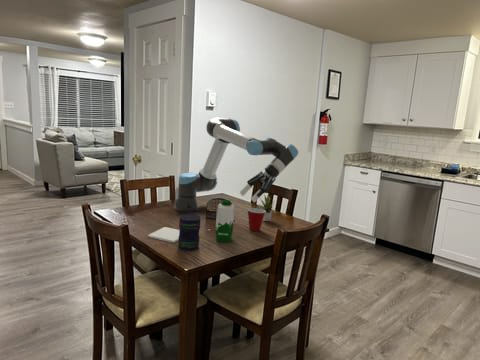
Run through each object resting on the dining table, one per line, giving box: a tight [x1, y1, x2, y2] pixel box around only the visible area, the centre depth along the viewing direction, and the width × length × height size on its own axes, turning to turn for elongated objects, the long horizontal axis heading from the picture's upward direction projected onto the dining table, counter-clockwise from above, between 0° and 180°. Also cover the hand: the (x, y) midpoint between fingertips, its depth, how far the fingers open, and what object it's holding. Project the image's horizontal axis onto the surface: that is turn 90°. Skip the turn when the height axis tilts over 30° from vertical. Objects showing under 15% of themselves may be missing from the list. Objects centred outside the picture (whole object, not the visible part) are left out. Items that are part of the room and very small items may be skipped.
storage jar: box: [177, 213, 202, 252], centre depth 164 cm, size 10×10×15 cm
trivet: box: [147, 226, 180, 244], centre depth 179 cm, size 15×15×1 cm
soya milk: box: [215, 199, 235, 243], centre depth 178 cm, size 9×9×20 cm
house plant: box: [256, 194, 276, 221], centre depth 217 cm, size 14×14×16 cm
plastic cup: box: [246, 207, 266, 232], centre depth 197 cm, size 11×11×12 cm
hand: (246, 197), depth 179 cm, fingers open, 13 cm apart
